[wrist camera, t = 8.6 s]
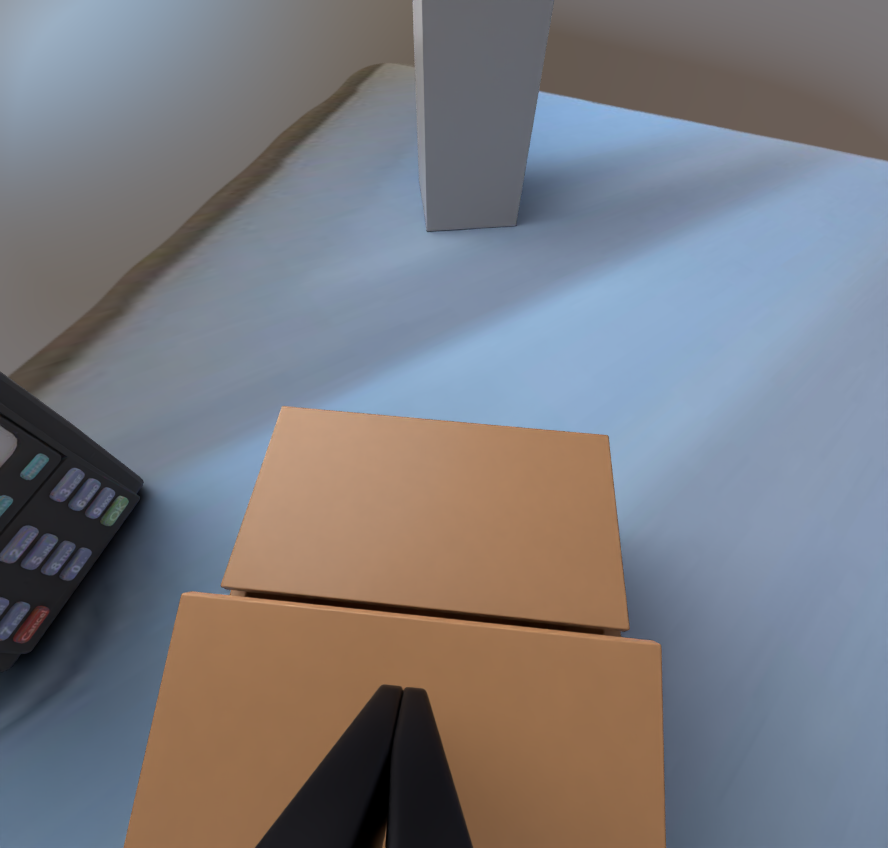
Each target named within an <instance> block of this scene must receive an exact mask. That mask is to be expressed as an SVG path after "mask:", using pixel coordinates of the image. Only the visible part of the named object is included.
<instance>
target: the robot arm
mask: <svg viewBox="0 0 888 848" xmlns="http://www.w3.org/2000/svg"><path fill="white" fill-rule="evenodd" d="M385 832H386V841H385V848H473V845H472V841H471V838H470V835H469V831H468V828H467V825H466V821H465V818H464V815H463V811H462V808H461V804H460V801H459V798H458V794H457V791H456V788H455V784H454V781H453V778H452V774H451V771H450V768H449V764H448V761H447V758H446V754H445V751H444V747H443V744H442V741H441V737H440V734H439V731H438V727H437V724H436V721H435V717H434V714H433V711H432V707H431V704H430V701H429V697H428V694H427V692H426V690H425V689H423V688H414V687H406V688H405V689H404V690H403V688H402V687H401V686H397V685H388V684H383V685H381V686H380V687H379V688H378V689H377V691H376V692H375V693H374V694H373V696H372V697H371V698H370V700H369V701H368V702H367V703H366V705H365V706H364V707H363V709H362V710H361V711H360V712H359V714H358V715H357V716H356V718H355V719H354V720H353V722H352V723H351V724H350V725H349V727H348V728H347V729H346V731H345V732H344V733H343V734H342V736H341V737H340V738H339V740H338V741H337V742H336V743H335V745H334V746H333V747H332V749H331V750H330V751H329V752H328V754H327V755H326V756H325V758H324V759H323V760H322V762H321V763H320V764H319V765H318V767H317V768H316V769H315V771H314V772H313V773H312V774H311V776H310V777H309V778H308V780H307V781H306V782H305V783H304V785H303V786H302V787H301V789H300V790H299V791H298V792H297V794H296V795H295V796H294V798H293V799H292V800H291V802H290V803H289V804H288V805H287V807H286V808H285V809H284V811H283V812H282V813H281V814H280V816H279V817H278V818H277V820H276V821H275V822H274V823H273V825H272V826H271V827H270V829H269V830H268V831H267V832H266V834H265V835H264V836H263V838H262V839H261V840H260V842H259V843H258V844H257V845H256V847H255V848H382V847H383V842H384V838H385Z"/></svg>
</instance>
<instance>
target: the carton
mask: <svg viewBox="0 0 888 848" xmlns="http://www.w3.org/2000/svg"><path fill="white" fill-rule="evenodd" d="M221 587H222V588H224V589H227V590H231V592H230V595H231V596H240V597H249V598H259V599H268V600H277V601H287V602H296V603H305V604H315V605H324V606H334V607H343V608H352V609H362V610H371V611H380V612H390V613H399V614H409V615H418V616H427V617H437V618H446V619H455V620H465V621H474V622H483V623H493V624H502V625H512V626H521V627H530V628H540V629H549V630H558V631H568V632H577V633H586V634H596V635H605V636H615V637H621V633H620V631H622V632H624V631H628V630H629V629H630V627H629V618H628V609H627V600H626V591H625V582H624V573H623V564H622V555H621V546H620V537H619V528H618V519H617V510H616V501H615V491H614V482H613V473H612V464H611V455H610V446H609V437H608V435H599V434H588V433H576V432H565V431H554V430H543V429H532V428H521V427H509V426H498V425H487V424H476V423H465V422H454V421H442V420H431V419H420V418H409V417H398V416H387V415H376V414H364V413H353V412H342V411H331V410H320V409H309V408H297V407H286V406H282V408H281V411H280V414H279V417H278V420H277V423H276V426H275V428H274V431H273V434H272V437H271V440H270V443H269V446H268V449H267V452H266V455H265V458H264V460H263V463H262V466H261V469H260V472H259V475H258V478H257V481H256V484H255V487H254V490H253V493H252V495H251V498H250V501H249V504H248V507H247V510H246V513H245V516H244V519H243V522H242V525H241V528H240V530H239V533H238V536H237V539H236V542H235V545H234V548H233V551H232V554H231V557H230V560H229V562H228V565H227V568H226V571H225V574H224V577H223V580H222V583H221Z"/></svg>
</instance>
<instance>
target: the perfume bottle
mask: <svg viewBox="0 0 888 848" xmlns="http://www.w3.org/2000/svg"><path fill="white" fill-rule="evenodd" d="M553 4H554V0H413V25H414V51H415V52H414V53H415V82H416V110H417V138H418V167H419V183H420V190H421V196H422V203H423V209H424V215H425V222H426V228H427V231H440V230H456V229H472V228H488V227H504V226H516V222H517V216H518V210H519V204H520V198H521V192H522V187H523V181H524V175H525V169H526V163H527V157H528V151H529V145H530V139H531V134H532V128H533V122H534V116H535V110H536V104H537V98H538V92H539V86H540V81H541V75H542V69H543V63H544V57H545V51H546V45H547V39H548V34H549V28H550V22H551V16H552V10H553Z"/></svg>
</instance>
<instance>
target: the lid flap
mask: <svg viewBox="0 0 888 848" xmlns="http://www.w3.org/2000/svg"><path fill="white" fill-rule="evenodd" d="M383 684H388V685H397V686H401V687H402V688H403V690H404V689H405V688H406V687H414V688H423V689H425V690H426V692H427V694H428V697H429V701H430V704H431V707H432V711H433V714H434V717H435V721H436V724H437V727H438V731H439V734H440V737H441V741H442V744H443V747H444V751H445V754H446V758H447V761H448V764H449V768H450V771H451V774H452V778H453V781H454V784H455V788H456V791H457V794H458V798H459V801H460V804H461V808H462V811H463V815H464V818H465V821H466V825H467V828H468V831H469V835H470V838H471V841H472V845H473V848H666V829H665V784H664V740H663V695H662V650H661V645H660V644H659V643H657V642H655V641H652V640H643V639H633V638H624V637H615V636H605V635H596V634H586V633H577V632H568V631H558V630H549V629H540V628H530V627H521V626H512V625H502V624H493V623H483V622H474V621H465V620H455V619H446V618H437V617H427V616H418V615H409V614H399V613H390V612H380V611H371V610H362V609H352V608H343V607H334V606H324V605H315V604H305V603H296V602H287V601H277V600H268V599H259V598H249V597H240V596H231V595H221V594H212V593H202V592H193V591H191V592H186V593H182V595H181V598H180V602H179V607H178V611H177V615H176V620H175V624H174V629H173V633H172V637H171V642H170V646H169V651H168V655H167V659H166V664H165V668H164V672H163V677H162V681H161V686H160V690H159V694H158V699H157V703H156V707H155V712H154V716H153V721H152V725H151V729H150V734H149V738H148V743H147V747H146V751H145V756H144V760H143V764H142V769H141V773H140V778H139V782H138V786H137V791H136V795H135V800H134V804H133V808H132V813H131V817H130V821H129V826H128V830H127V835H126V839H125V843H124V848H255V847H256V845H257V844H258V843H259V842H260V840H261V839H262V838H263V836H264V835H265V834H266V832H267V831H268V830H269V829H270V827H271V826H272V825H273V823H274V822H275V821H276V820H277V818H278V817H279V816H280V814H281V813H282V812H283V811H284V809H285V808H286V807H287V805H288V804H289V803H290V802H291V800H292V799H293V798H294V796H295V795H296V794H297V792H298V791H299V790H300V789H301V787H302V786H303V785H304V783H305V782H306V781H307V780H308V778H309V777H310V776H311V774H312V773H313V772H314V771H315V769H316V768H317V767H318V765H319V764H320V763H321V762H322V760H323V759H324V758H325V756H326V755H327V754H328V752H329V751H330V750H331V749H332V747H333V746H334V745H335V743H336V742H337V741H338V740H339V738H340V737H341V736H342V734H343V733H344V732H345V731H346V729H347V728H348V727H349V725H350V724H351V723H352V722H353V720H354V719H355V718H356V716H357V715H358V714H359V712H360V711H361V710H362V709H363V707H364V706H365V705H366V703H367V702H368V701H369V700H370V698H371V697H372V696H373V694H374V693H375V692H376V691H377V689H378V688H379V687H380V686H381V685H383ZM385 841H386V832H385V838H384V842H383V847H382V848H385Z"/></svg>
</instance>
